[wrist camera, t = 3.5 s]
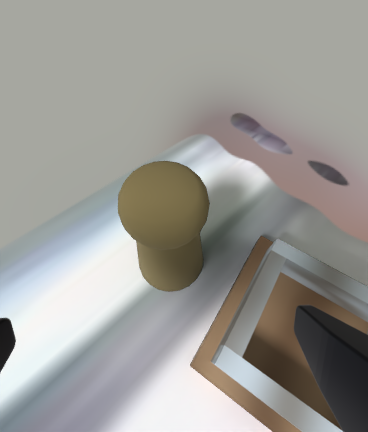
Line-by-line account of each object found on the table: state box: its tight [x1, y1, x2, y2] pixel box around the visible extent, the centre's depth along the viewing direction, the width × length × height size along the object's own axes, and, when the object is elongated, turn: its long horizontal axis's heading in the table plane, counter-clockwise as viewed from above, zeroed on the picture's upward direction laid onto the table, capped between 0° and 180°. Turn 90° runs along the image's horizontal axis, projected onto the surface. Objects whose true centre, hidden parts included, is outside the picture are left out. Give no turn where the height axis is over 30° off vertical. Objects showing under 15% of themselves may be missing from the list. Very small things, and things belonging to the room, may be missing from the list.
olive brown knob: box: [118, 161, 210, 292], centre depth 16 cm, size 6×6×11 cm
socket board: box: [190, 236, 368, 432], centre depth 16 cm, size 12×12×4 cm
